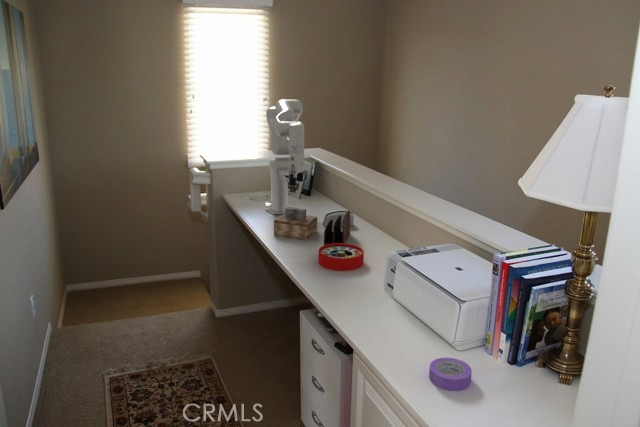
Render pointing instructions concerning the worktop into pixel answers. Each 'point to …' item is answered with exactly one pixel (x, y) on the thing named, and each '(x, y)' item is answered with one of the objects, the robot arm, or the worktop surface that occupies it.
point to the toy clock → (340, 257)
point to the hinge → (335, 215)
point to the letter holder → (337, 230)
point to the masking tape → (450, 381)
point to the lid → (295, 217)
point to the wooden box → (295, 230)
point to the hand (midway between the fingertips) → (296, 183)
